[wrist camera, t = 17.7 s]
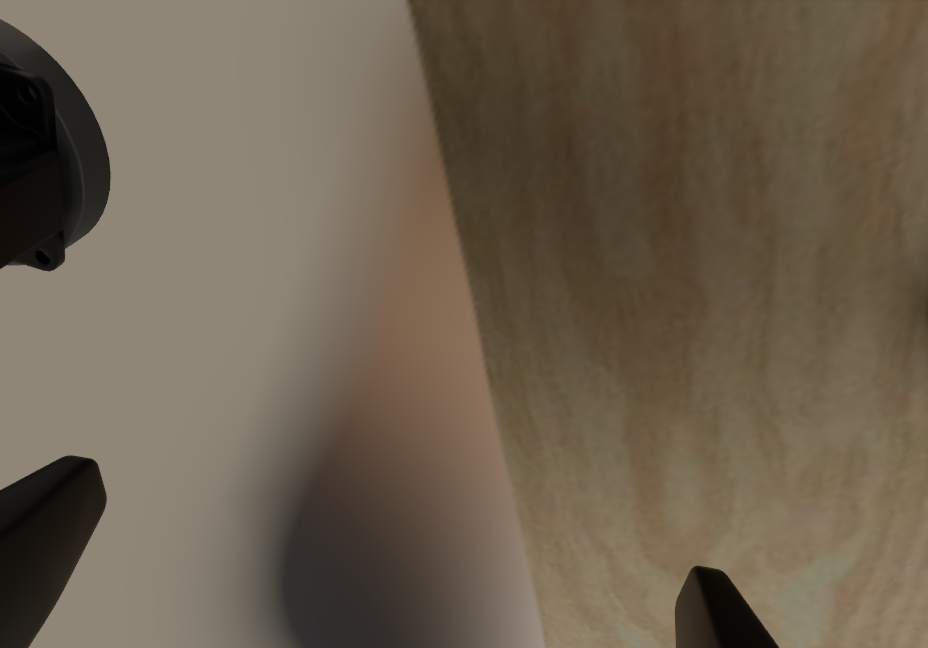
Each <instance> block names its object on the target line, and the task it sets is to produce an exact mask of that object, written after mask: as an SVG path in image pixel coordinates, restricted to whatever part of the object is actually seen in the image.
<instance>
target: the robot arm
mask: <svg viewBox="0 0 928 648" xmlns="http://www.w3.org/2000/svg"><path fill="white" fill-rule="evenodd" d="M28 87H31V88H32V89H33V90H34V92H35V94H36V98H34V97H33V96H32V95H31V94H30V92H29V89H28ZM63 229H64V212H63V197H62V182H61V167H60V159H59V157H58V148H57V133H56V119H55V104H54V95H53V91H52V88H51V87H50V85H49V83H48V82H47V81H46V80H45V79H44V78H43V77H41V76H39V75H37V74H35V73H32V72H29V71H25V70H22V69H19V68H16V67H13V66H10V65H7V64H4V63H1V62H0V269H1V268H3V267H4V266H6V265H7V264H9V263H11V262H12V261H14V262H18V263H21V264H24V265H27V266H31V267H34V268H37V269H41V270H44V271H52V270H54V269H56V268H57V267H59V266H60V265H62V263H63V262H64V260H65V249H64V235H63ZM44 253H46V254H47V255H48V256H49V258H48V257H47V256H46V255H45V254H44ZM106 498H107V496H106V491H105V488H104V484H103V481H102V477H101V474H100V470H99V466H98V464H97V463H96V462H95V461H94V460H93V459H90V458H84V457H78V456H65V457H62V458H60V459H58V460H56V461H54V462H52V463H50V464H49V465H47V466H45V467H43V468H41V469H40V470H37V471H35V472H34V473H32V474H30V475H28V476H26V477H24V478H22V479H20V480H19V481H17V482H15V483H13V484H11V485H9V486H7V487H5V488H4V489H2V490H0V648H28V647H29V646H30V644H31V643H32V641H33V639H34V638H35V636H36V635H37V633H38V632H39V630H40V629H41V627H42V626H43V624H44V623H45V621H46V619H47V618H48V616H49V614H50V613H51V611H52V610H53V608H54V606H55V605H56V603H57V601H58V599H59V597H60V596H61V594H62V592H63V590H64V588H65V586H66V584H67V582H68V580H69V578H70V577H71V575H72V573H73V571H74V569H75V567H76V565H77V563H78V561H79V559H80V557H81V555H82V553H83V551H84V549H85V547H86V545H87V543H88V541H89V539H90V537H91V535H92V534H93V532H94V529H95V528H96V526H97V524H98V522H99V520H100V518H101V516H102V514H103V512H104V509H105V506H106V501H107V500H106ZM675 631H676V648H779V647H778V645H777V644H776V643H775V641H774V640H773V638H772V637H771V636H770V634H769V633H768V631H767V630H766V629H765V627H764V626H763V624H762V623H761V622H760V620H759V619H758V618H757V616H756V615H755V613H754V612H753V611H752V609H751V608H750V606H749V605H748V604H747V602H746V601H745V599H744V598H743V597H742V595H741V594H740V593H739V591H738V590H737V588H736V587H735V586H734V584H733V583H732V581H731V580H730V579H729V577H728V576H727V575H726V574H725V573H724V572H723V571H721V570H719V569H714V568H709V567H703V566H695V567H693V568H692V569H691V571H690V572H689V574H688V577H687V579H686V581H685V583H684V585H683V587H682V589H681V591H680V594H679V596H678V598H677V601H676V606H675Z"/></svg>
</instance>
